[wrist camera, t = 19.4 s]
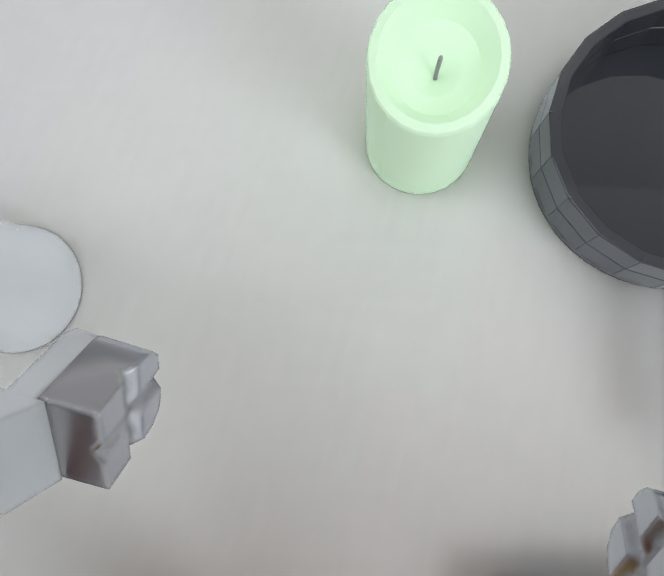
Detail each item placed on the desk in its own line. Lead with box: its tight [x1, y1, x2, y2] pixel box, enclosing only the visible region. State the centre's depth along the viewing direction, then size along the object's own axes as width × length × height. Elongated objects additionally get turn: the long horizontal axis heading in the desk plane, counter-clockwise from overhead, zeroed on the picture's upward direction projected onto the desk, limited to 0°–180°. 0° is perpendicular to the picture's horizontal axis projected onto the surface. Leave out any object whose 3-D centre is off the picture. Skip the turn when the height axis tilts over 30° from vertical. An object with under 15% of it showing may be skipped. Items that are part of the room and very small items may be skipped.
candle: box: [366, 0, 512, 194], centre depth 23 cm, size 5×5×8 cm
